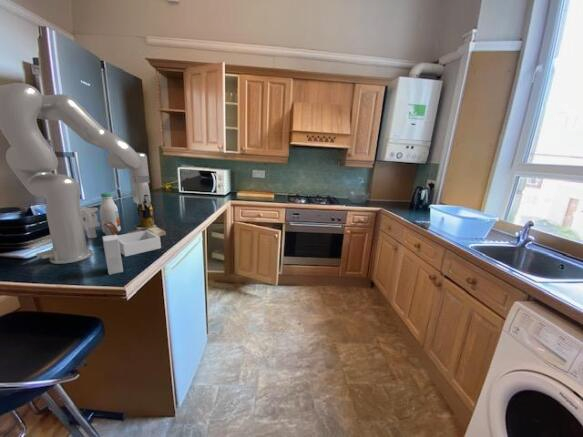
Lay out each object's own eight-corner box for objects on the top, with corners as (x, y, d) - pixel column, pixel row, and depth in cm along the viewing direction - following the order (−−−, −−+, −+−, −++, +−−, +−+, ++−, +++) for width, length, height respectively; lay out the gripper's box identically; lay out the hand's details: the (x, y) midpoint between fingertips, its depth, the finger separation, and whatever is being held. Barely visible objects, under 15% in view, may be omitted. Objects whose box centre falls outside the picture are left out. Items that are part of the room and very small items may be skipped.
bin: (125, 256, 99) (123, 244, 98) (114, 247, 109) (112, 236, 108) (161, 248, 109) (160, 237, 108) (148, 240, 119) (147, 230, 117)
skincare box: (107, 268, 88) (102, 236, 85) (121, 266, 91) (117, 234, 88) (108, 275, 84) (102, 241, 81) (123, 272, 86) (118, 238, 83)
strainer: (82, 236, 121) (77, 206, 118) (100, 234, 126) (96, 204, 122) (83, 240, 116) (78, 208, 113) (102, 237, 121) (98, 206, 117)
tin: (121, 244, 112) (119, 226, 110) (113, 246, 110) (110, 227, 108) (112, 237, 122) (110, 220, 120) (104, 238, 120) (102, 221, 118)
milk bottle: (114, 233, 127) (108, 194, 122) (99, 233, 127) (92, 194, 122) (124, 229, 134) (119, 192, 130) (109, 229, 135) (104, 191, 130)
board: (134, 241, 117) (134, 237, 117) (127, 235, 124) (126, 232, 124) (165, 234, 127) (165, 231, 127) (156, 230, 134) (156, 226, 134)
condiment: (157, 226, 125) (154, 202, 123) (137, 229, 120) (134, 204, 117) (152, 223, 130) (150, 200, 128) (133, 226, 125) (130, 202, 122)
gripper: (125, 178, 122) (130, 214, 126) (137, 181, 111) (142, 221, 115) (142, 178, 128) (146, 212, 132) (155, 180, 117) (159, 218, 121)
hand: (144, 216), depth 124 cm, fingers closed on condiment, 6 cm apart
